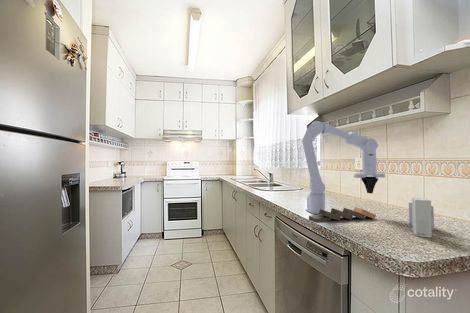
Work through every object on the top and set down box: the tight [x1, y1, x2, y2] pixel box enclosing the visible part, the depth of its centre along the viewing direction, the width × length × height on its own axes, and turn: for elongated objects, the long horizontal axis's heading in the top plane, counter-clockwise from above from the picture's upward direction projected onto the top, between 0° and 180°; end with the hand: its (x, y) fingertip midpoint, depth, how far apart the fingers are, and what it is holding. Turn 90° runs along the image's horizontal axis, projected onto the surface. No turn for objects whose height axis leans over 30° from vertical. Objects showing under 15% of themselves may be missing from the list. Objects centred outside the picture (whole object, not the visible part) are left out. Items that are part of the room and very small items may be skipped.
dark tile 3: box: [330, 207, 354, 221], centre depth 100 cm, size 5×2×7 cm
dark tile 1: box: [308, 214, 331, 223], centre depth 98 cm, size 5×2×7 cm
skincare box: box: [411, 197, 433, 239], centre depth 78 cm, size 6×4×12 cm
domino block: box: [342, 207, 366, 220], centre depth 101 cm, size 5×2×7 cm
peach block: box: [353, 206, 377, 220], centre depth 101 cm, size 5×2×7 cm
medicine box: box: [408, 202, 435, 231], centre depth 87 cm, size 8×4×9 cm, turn 168°
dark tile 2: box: [318, 209, 342, 222], centre depth 98 cm, size 5×2×7 cm
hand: (369, 193), depth 108 cm, fingers closed
